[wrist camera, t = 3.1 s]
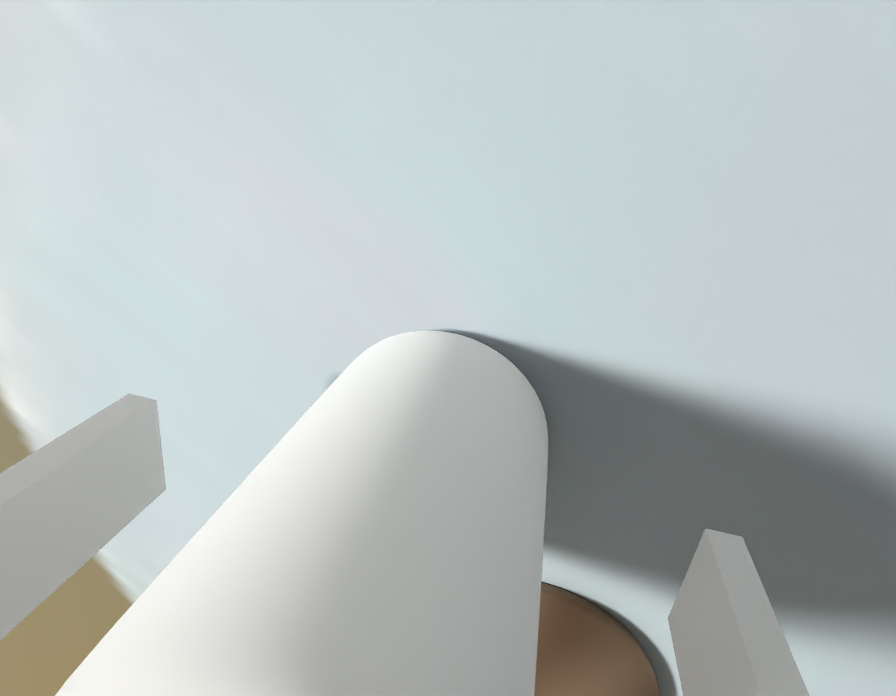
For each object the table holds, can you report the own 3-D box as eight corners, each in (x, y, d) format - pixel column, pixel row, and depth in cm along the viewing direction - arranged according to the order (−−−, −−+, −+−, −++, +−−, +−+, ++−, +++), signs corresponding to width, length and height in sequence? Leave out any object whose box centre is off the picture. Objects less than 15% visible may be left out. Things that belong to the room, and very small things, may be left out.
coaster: (697, 622, 17) (702, 638, 16) (617, 802, 21) (618, 819, 21) (393, 544, 18) (388, 557, 18) (372, 727, 22) (367, 742, 22)
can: (312, 338, 16) (-227, 795, 5) (531, 309, 14) (416, 897, 3) (368, 517, 18) (71, 1102, 7) (563, 509, 16) (554, 1255, 6)
